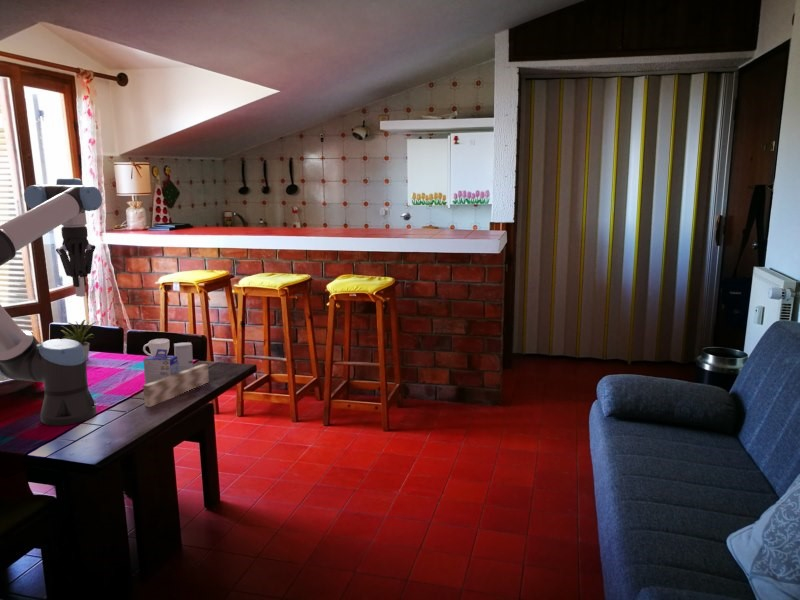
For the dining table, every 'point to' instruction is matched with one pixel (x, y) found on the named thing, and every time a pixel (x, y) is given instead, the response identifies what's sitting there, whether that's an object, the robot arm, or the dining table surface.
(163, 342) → the cup
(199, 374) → the board
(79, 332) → the house plant
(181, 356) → the skincare box
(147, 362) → the ink cartridge box
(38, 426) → the dining table surface
